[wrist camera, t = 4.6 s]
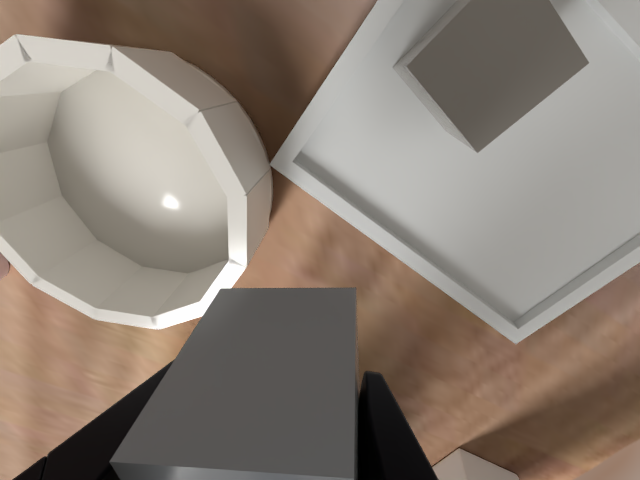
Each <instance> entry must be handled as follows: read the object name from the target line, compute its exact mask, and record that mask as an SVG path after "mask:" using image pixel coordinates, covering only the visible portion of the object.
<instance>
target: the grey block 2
mask: <svg viewBox="0 0 640 480" xmlns="http://www.w3.org/2000/svg"><path fill="white" fill-rule="evenodd" d="M588 64H589V61H588V60H587V58H586V57H585V55H584V54H583V52H582V51H581V49H580V47H579V46H578V44H577V43H576V41H575V40H574V38H573V37H572V35H571V33H570V32H569V30H568V29H567V27H566V26H565V24H564V22H563V21H562V19H561V18H560V16H559V15H558V13H557V12H556V10H555V8H554V7H553V5H552V4H551V2H550V1H549V0H457V1H456V2H455V3H454V4H453V5H452V6H451V7H450V8H449V9H448V10H447V11H446V12H445V14H444V15H443V16H442V17H441V18H440V19H439V20H438V21H437V22H436V23H435V24H434V25H433V26H432V27H431V28H430V29H429V30H428V31H427V32H426V33H425V34H424V35H423V36H422V37H421V39H420V40H419V41H418V42H417V43H416V44H415V45H414V46H413V47H412V48H411V49H410V50H409V51H408V52H407V53H406V54H405V55H404V56H403V57H402V58H401V59H400V60H399V61H398V62H397V64H396V65H395V66H394V67H393V69H394V70H395V71H396V72H397V74H398V75H399V76H400V77H401V78H402V80H403V81H404V82H405V83H406V84H407V86H408V87H409V88H410V89H411V90H412V92H413V93H414V94H415V95H416V96H417V97H418V99H419V100H420V101H421V102H422V103H423V105H424V106H425V107H426V108H427V109H428V111H429V112H430V113H431V114H432V115H433V117H434V118H435V119H436V120H437V121H438V123H439V124H440V125H441V126H442V127H443V129H444V130H445V131H446V132H448V133H449V134H451V135H452V136H453V137H455V138H456V139H458V140H459V141H461V142H462V143H464V144H465V145H467V146H468V147H469V148H471V149H472V150H474V151H475V152H477V153H478V152H480V151H481V150H482V149H483V148H485V147H486V146H487V145H488V144H489V143H491V142H492V141H493V140H494V139H496V138H497V137H498V136H499V135H501V134H502V133H503V132H504V131H506V130H507V129H508V128H509V127H511V126H512V125H513V124H514V123H516V122H517V121H518V120H519V119H521V118H522V117H523V116H524V115H525V114H527V113H528V112H529V111H530V110H532V109H533V108H534V107H535V106H537V105H538V104H539V103H540V102H542V101H543V100H544V99H545V98H547V97H548V96H549V95H550V94H552V93H553V92H554V91H555V90H557V89H558V88H559V87H560V86H562V85H563V84H564V83H565V82H566V81H568V80H569V79H570V78H571V77H573V76H574V75H575V74H576V73H578V72H579V71H580V70H581V69H583V68H584V67H585V66H586V65H588Z"/></svg>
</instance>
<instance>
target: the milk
mask: <svg viewBox="0 0 640 480" xmlns="http://www.w3.org/2000/svg"><path fill="white" fill-rule="evenodd" d="M432 468H433V470H434V472H435V474H436V476H437V478H438V479H439V480H519V478H518V476H517V475H516V474H514V473H512V472H510V471H508V470H506V469H504V468H501V467H499V466H497V465H495V464H493V463H491V462H488V461H486V460H484V459H482V458H480V457H477V456H475V455H473V454H471V453H469V452H467V451H464V450H462V449H460V448H458V449H457V450H455V451H454V452H453V453H451V454H450V455H448V456H447V457H446V458H444V459H443V460H441V461H440V462H439V463H437V464H436V465H435V466H433V467H432Z"/></svg>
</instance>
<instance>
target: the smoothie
mask: <svg viewBox="0 0 640 480" xmlns="http://www.w3.org/2000/svg"><path fill="white" fill-rule="evenodd" d="M8 272H9V263H8V260H7V259H6V258H5V257H4V256H3V255H2V253H1V252H0V280H1V279H2V278H4V277H5V276H6V275H7V274H8Z"/></svg>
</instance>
